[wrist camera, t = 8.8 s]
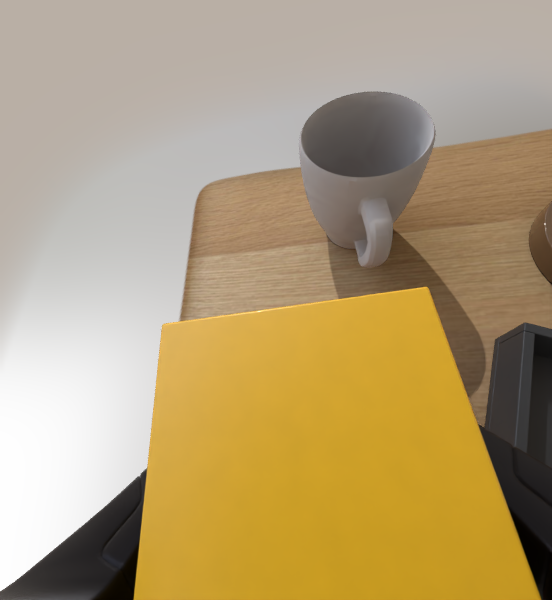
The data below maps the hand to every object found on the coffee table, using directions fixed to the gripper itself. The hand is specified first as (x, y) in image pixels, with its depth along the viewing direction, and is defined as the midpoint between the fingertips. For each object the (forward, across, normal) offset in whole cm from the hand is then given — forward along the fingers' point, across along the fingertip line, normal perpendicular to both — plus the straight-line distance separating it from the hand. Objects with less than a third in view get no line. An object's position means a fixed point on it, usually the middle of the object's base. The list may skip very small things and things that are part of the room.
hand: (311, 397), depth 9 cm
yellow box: (+3, 0, +5) cm, 6 cm away
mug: (+20, -6, -1) cm, 21 cm away
